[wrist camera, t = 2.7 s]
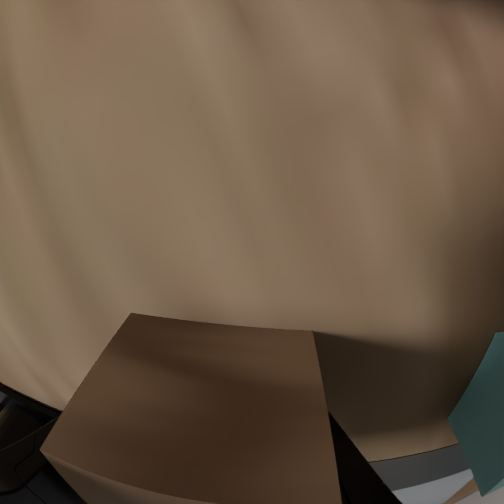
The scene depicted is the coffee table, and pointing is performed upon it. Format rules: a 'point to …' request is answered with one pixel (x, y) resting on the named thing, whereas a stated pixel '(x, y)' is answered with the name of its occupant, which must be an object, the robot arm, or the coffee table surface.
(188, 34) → the coffee table surface
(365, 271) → the coffee table surface
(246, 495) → the walnut block
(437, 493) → the base plate
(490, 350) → the teal block
